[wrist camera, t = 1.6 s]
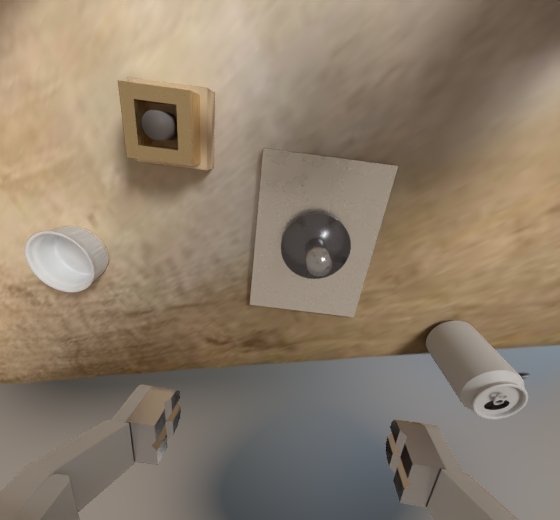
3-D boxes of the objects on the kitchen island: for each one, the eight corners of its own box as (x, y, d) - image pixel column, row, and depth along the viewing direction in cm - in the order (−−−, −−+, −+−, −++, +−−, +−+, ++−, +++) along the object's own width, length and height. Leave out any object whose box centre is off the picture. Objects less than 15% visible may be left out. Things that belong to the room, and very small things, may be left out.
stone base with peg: (263, 147, 32) (256, 150, 25) (395, 165, 32) (423, 172, 25) (250, 300, 41) (242, 333, 34) (352, 313, 41) (364, 348, 34)
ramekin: (58, 273, 40) (33, 288, 36) (44, 217, 36) (15, 227, 32) (117, 281, 40) (98, 296, 36) (109, 226, 37) (87, 237, 33)
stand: (142, 82, 29) (106, 69, 23) (214, 92, 29) (196, 81, 24) (149, 159, 33) (119, 163, 27) (213, 167, 33) (197, 174, 27)
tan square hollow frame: (135, 86, 27) (117, 80, 24) (200, 95, 27) (189, 90, 24) (141, 155, 30) (126, 157, 27) (200, 163, 30) (191, 165, 27)
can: (423, 356, 44) (466, 427, 33) (423, 321, 41) (470, 386, 30) (470, 350, 43) (530, 421, 33) (473, 313, 40) (541, 378, 30)
